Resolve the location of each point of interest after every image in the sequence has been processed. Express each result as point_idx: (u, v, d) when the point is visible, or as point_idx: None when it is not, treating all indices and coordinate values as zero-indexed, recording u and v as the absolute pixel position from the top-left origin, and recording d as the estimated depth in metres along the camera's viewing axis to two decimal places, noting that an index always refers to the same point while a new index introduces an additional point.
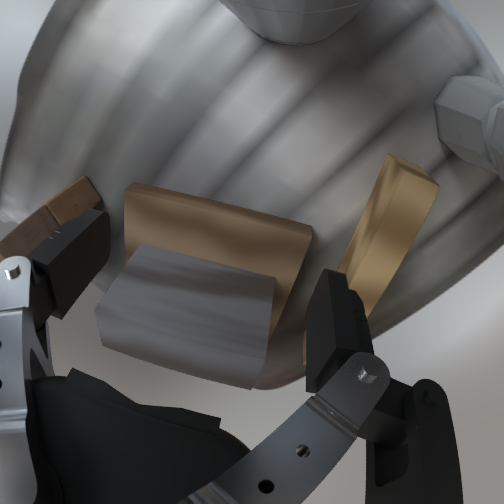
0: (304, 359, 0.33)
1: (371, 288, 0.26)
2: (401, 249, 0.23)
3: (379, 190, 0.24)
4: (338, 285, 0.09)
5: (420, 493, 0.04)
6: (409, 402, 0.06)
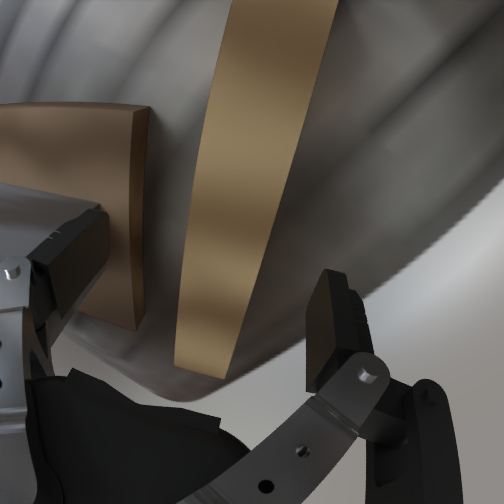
0: None
1: (246, 192, 0.12)
2: (295, 82, 0.09)
3: None
4: (338, 285, 0.09)
5: (420, 493, 0.04)
6: (409, 402, 0.06)
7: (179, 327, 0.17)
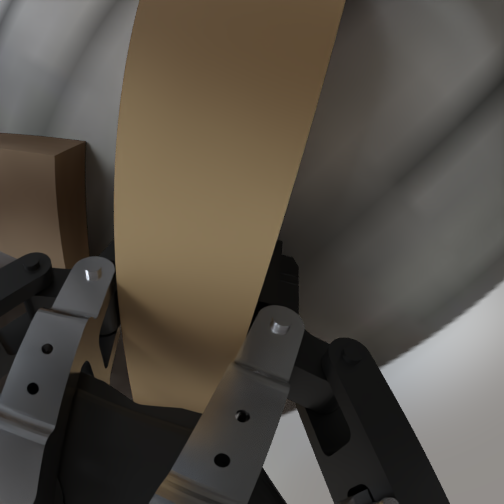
0: None
1: (195, 305, 0.07)
2: (273, 113, 0.05)
3: None
4: None
5: (374, 457, 0.05)
6: (328, 367, 0.07)
7: None
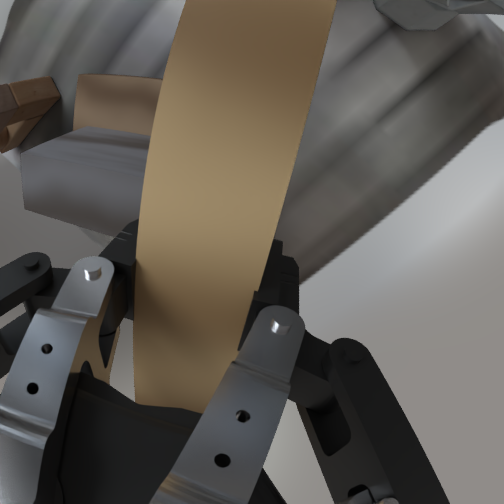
0: None
1: (209, 273, 0.08)
2: (280, 101, 0.06)
3: None
4: (271, 250, 0.10)
5: (374, 457, 0.05)
6: (329, 367, 0.07)
7: None
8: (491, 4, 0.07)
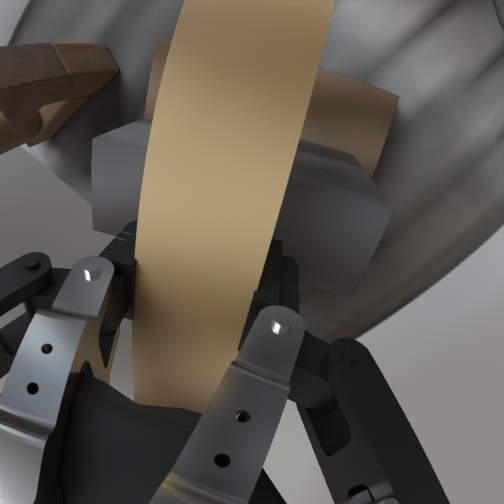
0: None
1: (207, 274, 0.08)
2: (278, 103, 0.06)
3: None
4: (271, 250, 0.10)
5: (374, 457, 0.05)
6: (329, 367, 0.07)
7: None
8: None
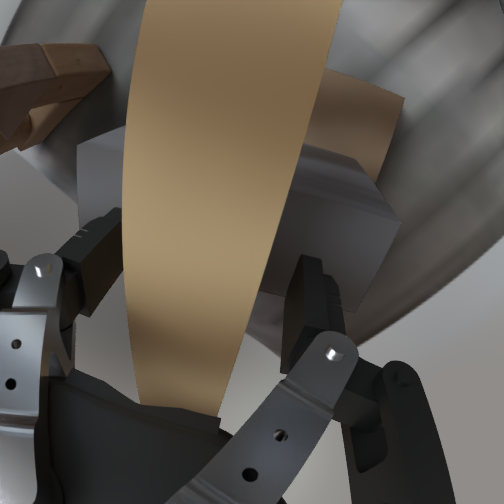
0: None
1: (196, 314, 0.08)
2: (262, 152, 0.05)
3: None
4: (312, 269, 0.10)
5: (404, 477, 0.04)
6: (380, 386, 0.06)
7: None
8: None
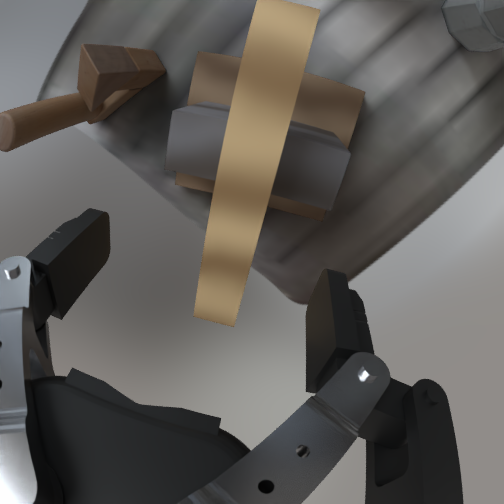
0: None
1: (252, 174, 0.18)
2: (282, 104, 0.16)
3: None
4: (338, 285, 0.09)
5: (420, 493, 0.04)
6: (409, 402, 0.06)
7: (201, 279, 0.23)
8: None
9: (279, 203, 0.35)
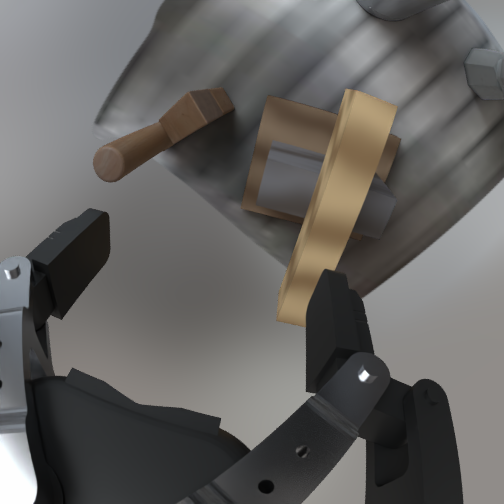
0: (278, 314, 0.32)
1: (340, 220, 0.25)
2: (366, 174, 0.23)
3: (339, 121, 0.24)
4: (338, 285, 0.09)
5: (420, 493, 0.04)
6: (409, 402, 0.06)
7: (289, 292, 0.30)
8: None
9: None
